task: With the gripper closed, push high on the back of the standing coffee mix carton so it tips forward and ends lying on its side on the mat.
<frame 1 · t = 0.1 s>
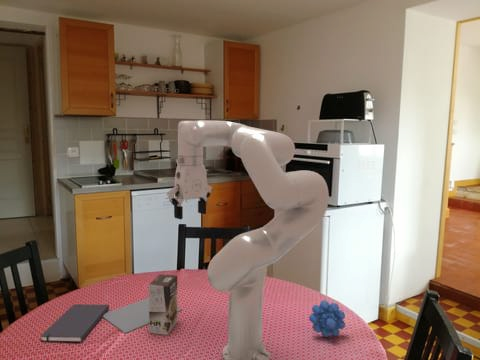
hand: (190, 215, 124), 37 cm above the table, tool pointing down, fingers open, 9 cm apart
coffee box: (164, 327, 128), on the table
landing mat: (141, 313, 137), on the table
notebook: (77, 324, 128), on the table, touching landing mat
grapes: (327, 339, 123), on the table
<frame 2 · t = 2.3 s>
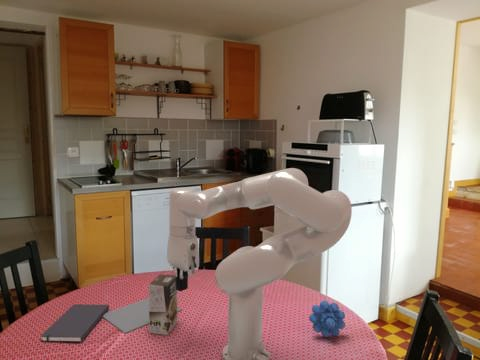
hand: (181, 289, 119), 16 cm above the table, tool pointing down, fingers closed
nothing on the table moved.
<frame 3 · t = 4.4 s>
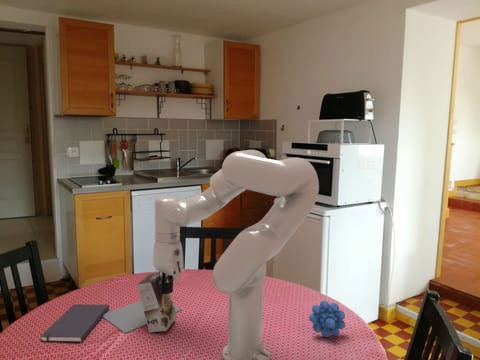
hand: (167, 292, 124), 12 cm above the table, tool pointing down, fingers closed
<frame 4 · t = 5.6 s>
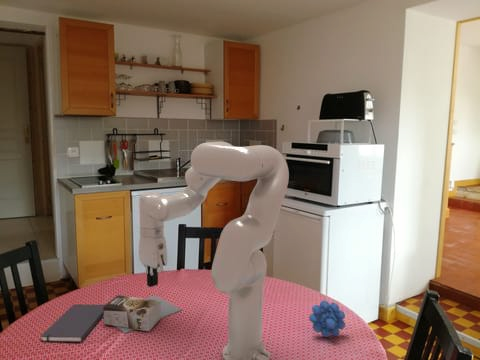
hand: (152, 285, 130), 12 cm above the table, tool pointing down, fingers closed
coffee box: (156, 315, 128), point 4 cm above the table, touching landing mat
everything else where it was.
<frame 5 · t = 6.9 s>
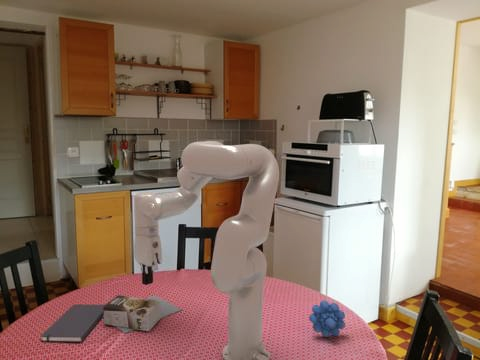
hand: (147, 283, 132), 12 cm above the table, tool pointing down, fingers closed
nothing on the table moved.
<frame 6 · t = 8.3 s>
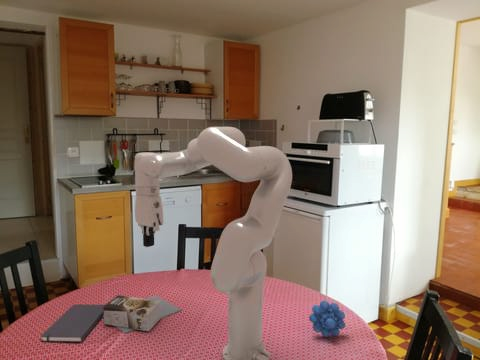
hand: (148, 245, 130), 25 cm above the table, tool pointing down, fingers closed
nothing on the table moved.
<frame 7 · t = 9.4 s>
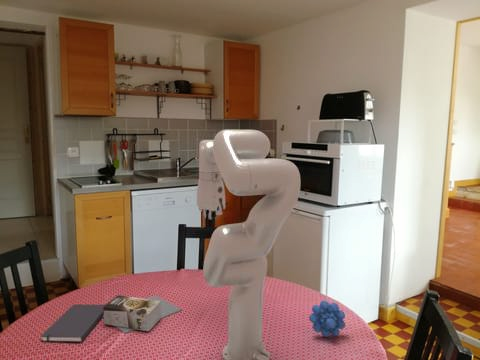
hand: (210, 229, 136), 29 cm above the table, tool pointing down, fingers closed
nothing on the table moved.
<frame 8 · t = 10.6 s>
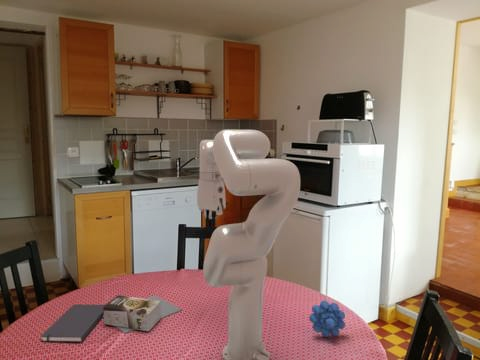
hand: (210, 229, 136), 29 cm above the table, tool pointing down, fingers closed
nothing on the table moved.
at the end: coffee box tilted 90°; coffee box inside the target area (10.8 cm from its centre), point 3.6 cm above the table; coffee box touching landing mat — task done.
